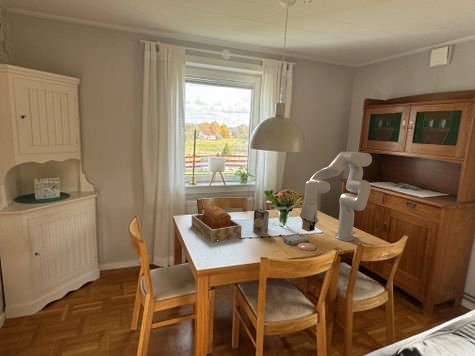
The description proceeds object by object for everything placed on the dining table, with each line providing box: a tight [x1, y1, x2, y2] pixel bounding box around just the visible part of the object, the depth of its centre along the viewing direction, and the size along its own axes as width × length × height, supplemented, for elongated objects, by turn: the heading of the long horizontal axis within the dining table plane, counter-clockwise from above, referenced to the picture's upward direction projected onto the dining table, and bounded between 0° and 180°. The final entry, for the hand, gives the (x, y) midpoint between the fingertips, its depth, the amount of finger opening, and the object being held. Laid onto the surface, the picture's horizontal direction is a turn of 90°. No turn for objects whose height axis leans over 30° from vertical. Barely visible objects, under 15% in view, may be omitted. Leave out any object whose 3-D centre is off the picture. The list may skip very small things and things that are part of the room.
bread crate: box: [191, 213, 243, 243], centre depth 200 cm, size 22×34×8 cm, turn 31°
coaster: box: [297, 242, 316, 252], centre depth 179 cm, size 11×11×1 cm
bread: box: [202, 205, 232, 230], centre depth 203 cm, size 14×26×16 cm, turn 26°
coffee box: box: [252, 208, 270, 236], centre depth 200 cm, size 9×6×16 cm
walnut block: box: [301, 220, 316, 233], centre depth 177 cm, size 6×6×6 cm
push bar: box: [283, 235, 303, 245], centre depth 187 cm, size 12×5×3 cm, turn 123°
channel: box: [282, 232, 309, 245], centre depth 189 cm, size 14×9×2 cm, turn 121°
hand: (308, 228), depth 177 cm, fingers closed on walnut block, 5 cm apart
